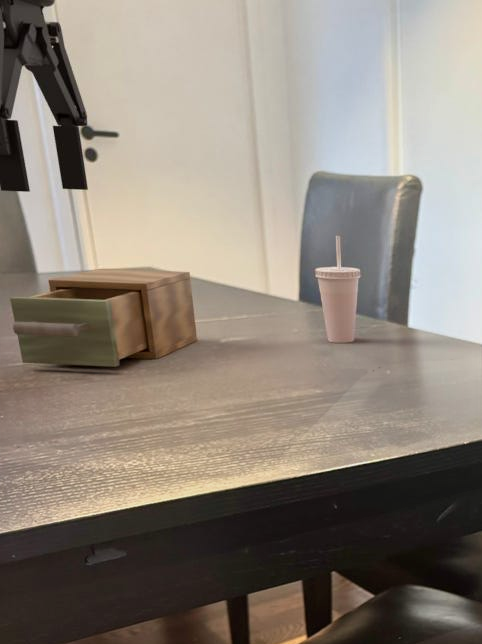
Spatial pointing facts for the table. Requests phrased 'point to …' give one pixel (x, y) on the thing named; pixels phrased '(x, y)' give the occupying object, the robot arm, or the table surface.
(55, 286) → the cabinet
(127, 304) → the drawer
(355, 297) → the smoothie
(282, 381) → the table surface
